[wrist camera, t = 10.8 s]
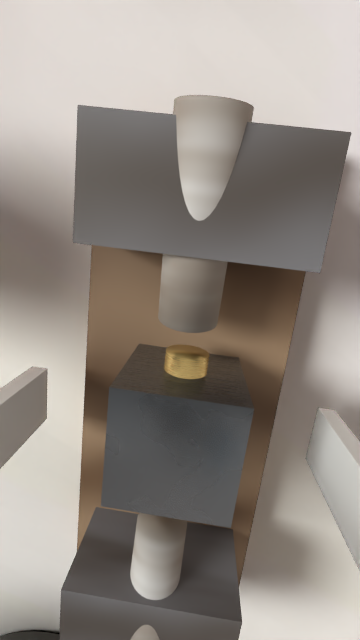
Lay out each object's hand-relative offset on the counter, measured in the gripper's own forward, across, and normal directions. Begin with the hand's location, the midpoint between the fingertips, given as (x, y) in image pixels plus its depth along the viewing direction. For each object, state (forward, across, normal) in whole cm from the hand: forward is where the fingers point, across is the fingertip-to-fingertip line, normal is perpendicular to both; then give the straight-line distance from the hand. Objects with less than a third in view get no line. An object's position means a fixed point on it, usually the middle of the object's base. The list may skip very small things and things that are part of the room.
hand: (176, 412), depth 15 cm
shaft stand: (+3, 0, 0) cm, 3 cm away
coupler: (+1, 0, 0) cm, 1 cm away
